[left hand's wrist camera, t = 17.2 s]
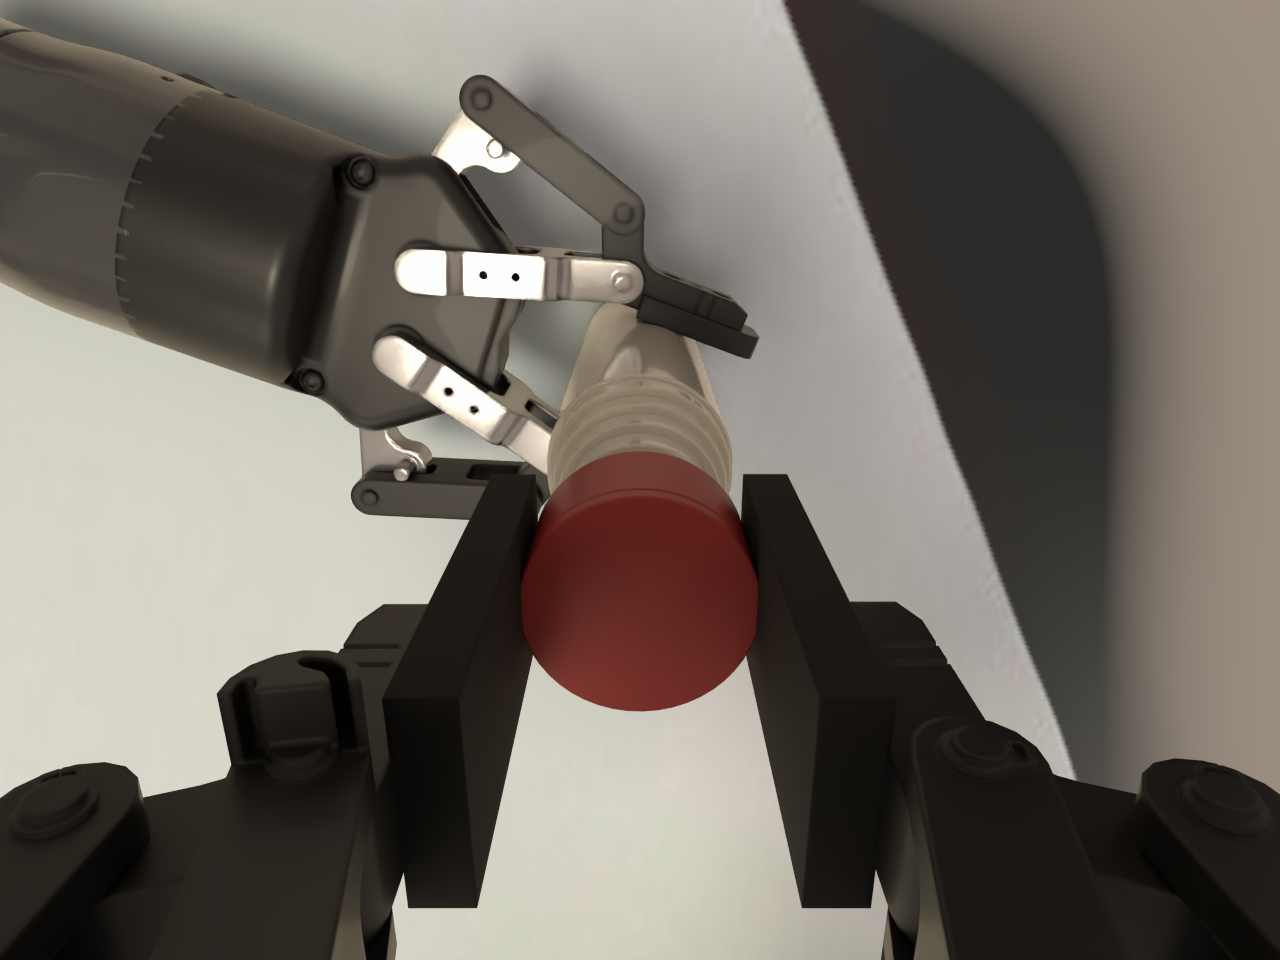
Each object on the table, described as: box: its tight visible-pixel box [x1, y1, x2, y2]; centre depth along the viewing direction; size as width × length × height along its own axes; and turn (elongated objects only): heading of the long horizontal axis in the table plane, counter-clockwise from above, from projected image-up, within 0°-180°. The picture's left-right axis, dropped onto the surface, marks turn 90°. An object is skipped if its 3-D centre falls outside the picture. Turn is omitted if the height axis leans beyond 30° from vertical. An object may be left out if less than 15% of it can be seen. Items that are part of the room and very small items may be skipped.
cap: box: [521, 451, 758, 711], centre depth 14 cm, size 4×4×2 cm
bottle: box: [547, 303, 732, 496], centre depth 23 cm, size 4×4×20 cm
